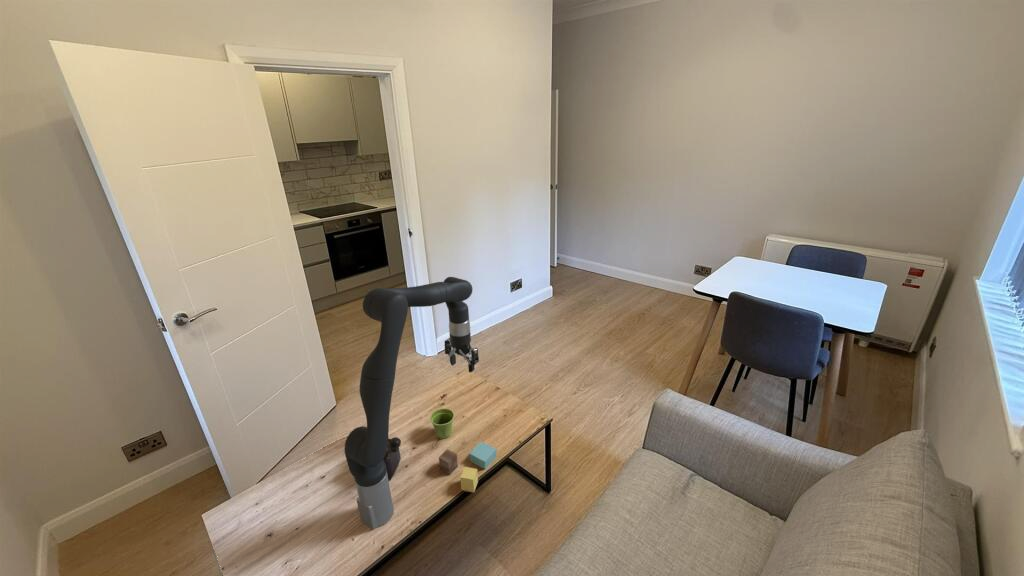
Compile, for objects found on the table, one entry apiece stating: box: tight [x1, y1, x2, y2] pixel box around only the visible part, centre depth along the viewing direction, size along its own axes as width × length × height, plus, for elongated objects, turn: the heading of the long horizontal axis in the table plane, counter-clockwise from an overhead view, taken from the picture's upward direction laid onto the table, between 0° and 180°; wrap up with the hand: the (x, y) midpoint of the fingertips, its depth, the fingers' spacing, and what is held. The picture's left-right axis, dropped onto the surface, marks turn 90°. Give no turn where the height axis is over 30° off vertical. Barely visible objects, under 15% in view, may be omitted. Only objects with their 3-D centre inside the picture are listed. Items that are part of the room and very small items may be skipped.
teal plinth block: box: [469, 441, 498, 470], centre depth 151 cm, size 7×7×4 cm
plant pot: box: [429, 407, 455, 439], centre depth 162 cm, size 9×9×9 cm
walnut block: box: [438, 448, 459, 476], centre depth 146 cm, size 4×4×6 cm
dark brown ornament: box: [383, 436, 402, 481], centre depth 144 cm, size 16×11×18 cm
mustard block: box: [460, 466, 479, 493], centre depth 139 cm, size 4×4×6 cm
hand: (462, 367), depth 154 cm, fingers open, 8 cm apart
